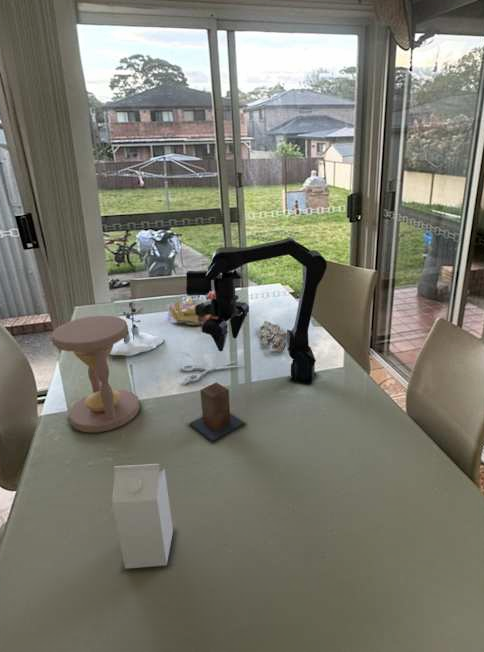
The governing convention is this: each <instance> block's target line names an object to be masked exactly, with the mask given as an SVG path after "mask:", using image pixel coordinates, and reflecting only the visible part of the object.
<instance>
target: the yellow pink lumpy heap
mask: <svg viewBox="0 0 484 652" xmlns="http://www.w3.org/2000/svg"><path fill="white" fill-rule="evenodd" d="M214 297H215V291H214V290H212V291H211V292H209V293H208V295H196V296H184V297H182V298H181V301H182V303H180V302H179V301H175V302H173V303H172V302H170V304H169V303H167V311H168V313H167V318H168V319H169V321H170V323H173V324H185V325H190V326H194V325H195V326H198V325H199V326H200V325H202V324H203V323H204V322H206V321H207V320H208V319H210V318H212V319H219V318H218V317H217V316H216V317H213V316H211V314H210V315H206V316H203V317H200V316H197V314H196V313H195V306H196V305H197V304H201V303H204V302H207V301H211V300H212V299H213V298H214Z"/></svg>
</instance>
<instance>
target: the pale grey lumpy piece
mask: <svg viewBox="0 0 484 652" xmlns="http://www.w3.org/2000/svg"><path fill="white" fill-rule="evenodd" d="M268 328H269V330H268ZM259 329H260V338H261V344H262V346H261V347H262V349H264V348H265V347H266V345H267V344H268V343H269V351H271V352H272V351H273V352H276V353H281V354H283V352H284V351H285V349H286V344H285V339H286V337H287V332H285V331H282V330H281V329H280V326H279V325H277V324H274V323H272V322H270V321H267V320H265V321H264V322H263V324H262V326H260V327H259ZM269 339H272V341H270V342H269Z"/></svg>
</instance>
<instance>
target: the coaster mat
mask: <svg viewBox="0 0 484 652" xmlns="http://www.w3.org/2000/svg"><path fill="white" fill-rule="evenodd" d="M230 422H231V423H229V424H228V425H226V426H224V427H222V428H221V429H219V430H217V431H214V430H212V429H211V428H209V427H208V426H207V425H205V424H204V423H203V416H201V417H199V418H198V419H196V420H195V419H194V420H193V421H191V422H190V423H189V427H191V428H193V429H194V430H195V431H196V432H198V433H199V434H201V435H202V436H203V437H205V438H206V439H207V440H209V441H210V442H211V443H215V442H217V441H219V440H221V439H222V438H224V437H226V436H228V435H229V434H231V433H233V432H234V431H236V430H238V429H240V428H242V427H243V426H245V422H244V421H242V420H241V419H239V418H237V417H236V416H235V415H233V414H231V413H230Z"/></svg>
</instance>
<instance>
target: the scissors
mask: <svg viewBox="0 0 484 652" xmlns="http://www.w3.org/2000/svg"><path fill="white" fill-rule="evenodd" d="M236 362H237V360H233V361H229V362H225V363H222V364H219V365H216V366H195V365H193V364H186V365H183V366H181V367H182V371H183V372H192V371H194V370H202V372H200V373H194V374H193V373H192V374H190V375H189V376H187V379H186V380H184V381H182V384H183V385H186V384H187V383H189V382H190V383H193V382H198V380H200V377H201V376H204V375H206V373H210V372H212V371H215V370H223V369H230V368H231V369H232V368H238V367H240V365H233V366H232V365H231V364H234V363H236ZM229 365H230V366H229Z"/></svg>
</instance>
